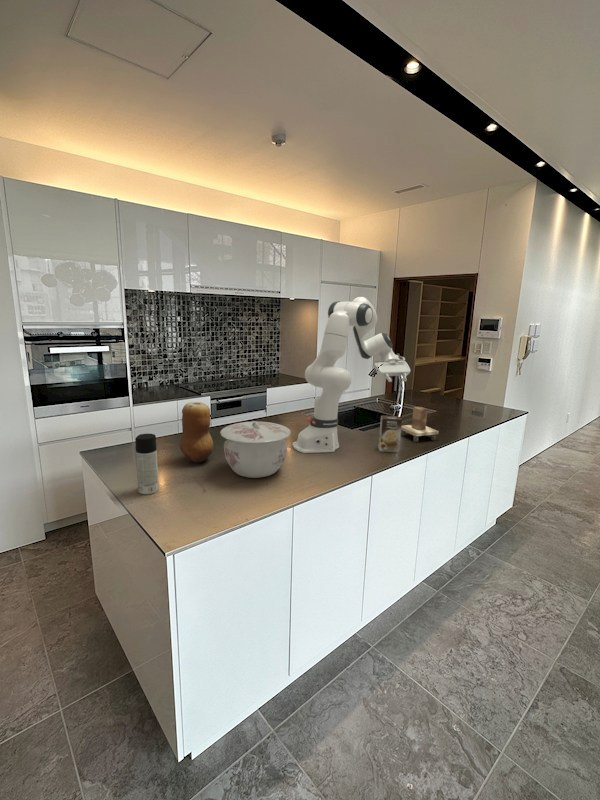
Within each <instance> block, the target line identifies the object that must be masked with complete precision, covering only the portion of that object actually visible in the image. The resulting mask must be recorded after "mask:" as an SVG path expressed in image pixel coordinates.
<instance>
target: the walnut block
mask: <svg viewBox="0 0 600 800" xmlns="http://www.w3.org/2000/svg"><path fill="white" fill-rule="evenodd" d="M427 418H428V408H427V407H426V408H425V407H423V406H413V409H412V418H411V419H412V420H411V425H412V428H414V429H416V430H426V426H427V420H428V419H427Z"/></svg>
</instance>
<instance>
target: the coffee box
mask: <svg viewBox="0 0 600 800" xmlns="http://www.w3.org/2000/svg"><path fill="white" fill-rule="evenodd" d="M379 424H380V425H379V434H378V446H377V449H378V451H379V452H383V453H384V452H387V453H397V452H398V453H400V446H401V445H400V444H401V437H402V436H401V426H403V419H402V417H400V416H399V415H398V416H395V415H382V414H381V415H380V423H379Z"/></svg>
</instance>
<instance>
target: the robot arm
mask: <svg viewBox="0 0 600 800" xmlns="http://www.w3.org/2000/svg"><path fill="white" fill-rule="evenodd" d="M327 309H328V310H327V317H328V320H327V322H326V326H325V330H324V333H323V337H322V341H321V342H322V343H321V346H320V348H319V349H320V350H319V352H318V355H317V356H316V358H315V360H314V361H313V362H312V363H311V364H309V365H308V366H307V367H306V369H305V371H304V379H305V381H306V382H307V383H308V384H310V385H311V386H312V387H316V388H320V389H321V388H322V392H321V395H320V396H319V397H317V398H316V399H315V400H314V406H313V407H314V408H313V409H314V410H313V417H312V418H311V417H310V416H307V418H306V421H307V422H309V425H308V426H307V427H305V428H304V429H303V430H301V431H300V432H299V433H298V436H297V439H296V441H292V447H293V449H295V450H296V451H298V452H299V453H303V454H309V453H310V454H312V453H313V454H315V453H318V454H319V453H334V452H335V451H336V450H337V449H339V448H340V444H339V437H338V428H339V417H338V412H339V411H338V410H339V402H340V399H341V396H342V395H343V394H344V392H345V391H346V390H348V389H349V388H350V386H351V384H352V381H353V379H352V375H351V372H350V371H349V370H347V369H345V368H343V367H340V366H335V364H336V362H337V361H338V360H339V359H340V358H342V357H343V356H344V355H345V352H346V347H347V344H348V343H347V342H348V339H349V333H350V332H349V331H350V327H352V331H353V332H352V333H353V335H354V338H355V341H356V346H357V351H358V354H359V356H360V357H361V359H365V360H369V359H370V358H372V357H374V356H375V355H377V356H378V357H379V361H378V360H377V361H375V362H374V364H373V366H374V367H375V372H376V374H377V376H378V377H384V378H385V379H386V380H387V381H388V383H392V381H393V379H392V377H395V376H397V377H398V376H401V377H402V378H401V380H402V382H407V381H408V380H407V376H408V375H410V373H411V367H410V366H409V364H408V363H407V362H406V358H405V357H404V356H401V355H397V354H395V352H394V351H393V343H392V341H391V338H390V336H389V334H388V333H385V332H380V333H378V334H376V335H374V336H372V337H370V338H369V339H366V340H364V337H365V336H366V335H367V334H368V333H369V332H371V331H372V330H373V329H375V327H376V325H377V323H378V319H379V318H378V314H377V312H376V310H375V307H374V306H373V304H372V303H371V302H370V300H368V298H366V297H365V296H358V297H356V298H355V297H354V299H353V300H352V301H334V302H332V303H331V304H330V305H329V307H328V308H327ZM383 363H384V364H383ZM381 364H383V365H382V366H380V365H381ZM379 366H380V367H379ZM378 367H379V368H378ZM377 370H378V371H377Z"/></svg>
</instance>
